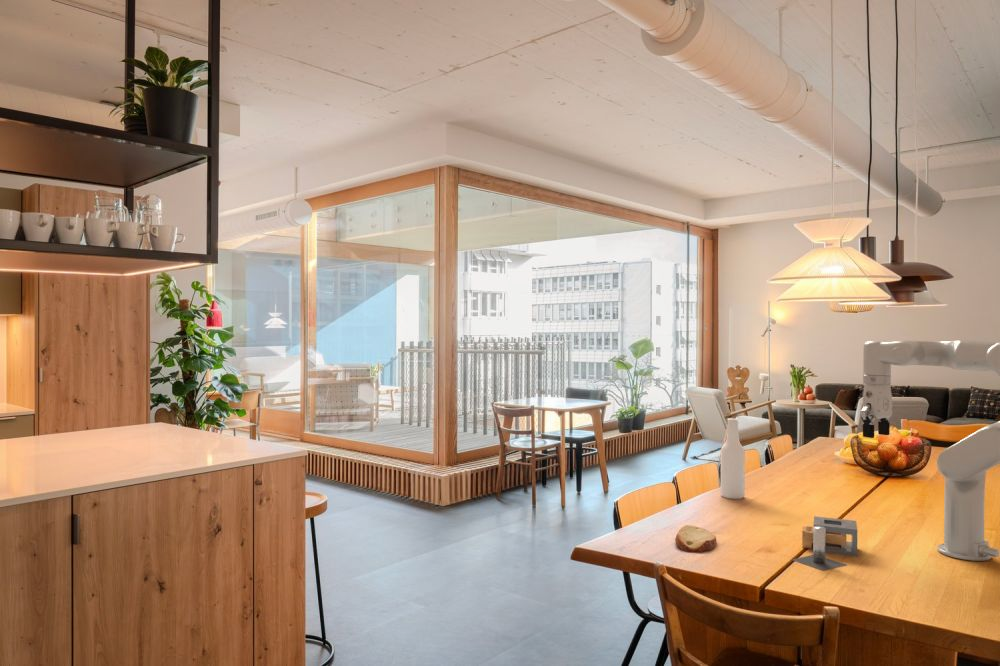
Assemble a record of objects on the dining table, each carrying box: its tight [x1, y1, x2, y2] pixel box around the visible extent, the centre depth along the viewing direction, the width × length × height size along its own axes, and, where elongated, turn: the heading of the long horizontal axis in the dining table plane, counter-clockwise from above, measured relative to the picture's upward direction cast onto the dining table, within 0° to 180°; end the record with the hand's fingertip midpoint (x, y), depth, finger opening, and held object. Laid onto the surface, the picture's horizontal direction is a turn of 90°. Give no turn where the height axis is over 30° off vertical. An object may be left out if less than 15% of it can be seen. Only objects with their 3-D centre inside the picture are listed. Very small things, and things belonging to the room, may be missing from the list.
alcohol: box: [720, 417, 746, 500], centre depth 263 cm, size 9×9×30 cm
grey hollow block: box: [801, 515, 858, 558], centre depth 199 cm, size 14×10×8 cm
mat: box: [791, 554, 847, 572], centre depth 187 cm, size 10×10×1 cm
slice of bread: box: [674, 524, 717, 554], centre depth 207 cm, size 18×18×4 cm
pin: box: [812, 525, 826, 564], centre depth 187 cm, size 3×3×10 cm
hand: (876, 436), depth 212 cm, fingers open, 9 cm apart
